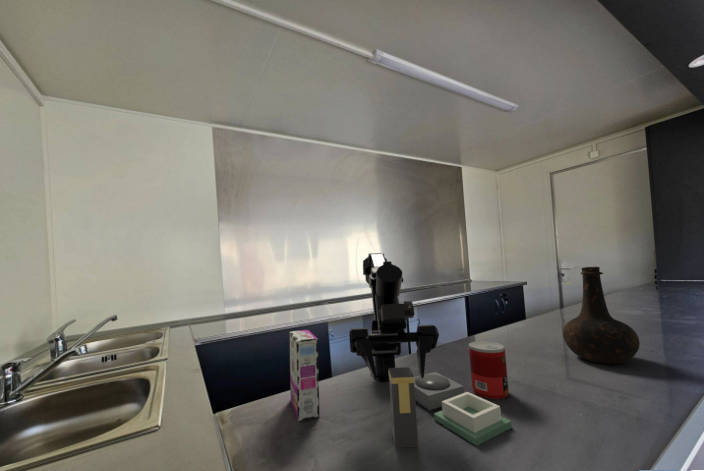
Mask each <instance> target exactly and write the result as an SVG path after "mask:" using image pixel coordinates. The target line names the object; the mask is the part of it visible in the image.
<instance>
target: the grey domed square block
mask: <svg viewBox="0 0 704 471" xmlns="http://www.w3.org/2000/svg"><path fill="white" fill-rule="evenodd" d="M414 382H415V383H414V387H415V402H417V403H418V404H420V405H421V406H422V407H424V408H425V409H427V410H428V411H431V410H435V409H438V408H442V401H444V400H447V399H450V398H452V397H455V396H458V395H460V394H463V393H465V386H464V385H462V384H461V383H459V382H457V381H454V380H452V379H451V378H448V377H446V376H444V375H443V374H441V373H439V372H436V371H434V372H429V373H424V378H421V375H417V376H414Z"/></svg>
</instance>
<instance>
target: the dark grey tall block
mask: <svg viewBox="0 0 704 471" xmlns="http://www.w3.org/2000/svg"><path fill="white" fill-rule="evenodd" d="M411 369H412V368H410V367H409V366H407V367H406V366H404V367H395V368H389V370H388V372H389V380H388V382H389V384H388V385H389V397H390V398H389V401H390V415H391V416H390V417H391V418H390V419H391V432H392V433H391V434H392V438H393V439H394V440H393V443H394V447H395V449H401V448H418V447H419V439H418V421H417V407H416V406H417V405H416V404H417V403H416V400H415V387H414V383H415V382H414V377H415V375H414V373H413V371H412V370H411Z"/></svg>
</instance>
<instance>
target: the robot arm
mask: <svg viewBox="0 0 704 471" xmlns="http://www.w3.org/2000/svg"><path fill="white" fill-rule="evenodd" d="M362 274H363V276H365V282H366V283H367V284H368V286H369V287H368V288H370V290H371V299H372V310H373V317H374V318H373V320H372V322H371V326H370V333H369V329H368V327H352V328H351V329H350V330H349V349H350V352H351V353H353V354H356V356H358V357H361V358H362V359H363V361H364V362H365V364H366V367H367V368H368V370H369V372H370V375H371V376H372V379H373V381H377V380H378V381H379V382H382V383H383V382H386V381H389V372H388V370H389V368H396V359H395V358H396V357H395V356H401V354H402V343H415V344H416V347H417V348H416V355H417V356H416V357H417V364H418V369H419V374H420V375H421V378H424V374H425V369H426V368H425V367H426V356H427V354H428V353H431V351H432V350H433V349H436V348H437V344H438V341H439V336H440V333H439V330H438V327H437V326H435V325H434V324H420V325H417V327H416V331H411V332H406V330H405V329H407V327H408V326H407V319H413V318H414V316H415V308H414V304H413V301H411V300H409V301H407V300H406V301H403V303H400V297H399V296H400V294H401V291H402V290H401V289H402V283H404V277H403V270H402V269H401V268H400V267H399V266H397V265H396V264H393V262H392V261H390V260H389V261H388V259H387V258H386V257H385V253H384V252H381V251H379V252H378V251H376V252H370V253H368V256H367V257H366V258H365V259H363V261H362ZM420 375H419V376H420Z"/></svg>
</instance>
